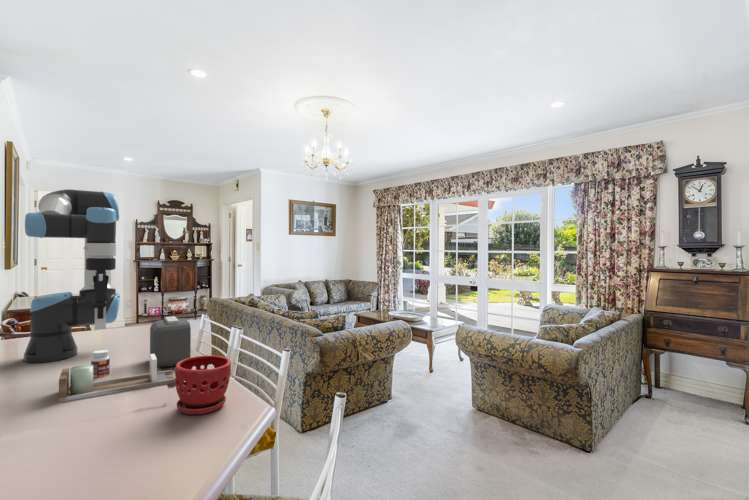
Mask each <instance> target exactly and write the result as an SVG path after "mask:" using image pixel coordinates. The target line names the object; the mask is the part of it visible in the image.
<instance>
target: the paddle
mask: <svg viewBox="0 0 749 500" xmlns="http://www.w3.org/2000/svg"><path fill="white" fill-rule="evenodd" d="M157 372H158V366H157V358H156V356H155V354H150V353H149V373H150V379H151V382H154V381H160V380H166V379H167V377H166V375H165V373H161V374H157Z"/></svg>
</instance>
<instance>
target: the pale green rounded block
mask: <svg viewBox="0 0 749 500" xmlns="http://www.w3.org/2000/svg"><path fill="white" fill-rule="evenodd" d="M93 382H94V378H93V365H91V364H80V365H75V366H73V367H70V368H69V386H70V395H77V394H83V393H89V392H93Z"/></svg>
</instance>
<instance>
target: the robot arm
mask: <svg viewBox="0 0 749 500" xmlns="http://www.w3.org/2000/svg"><path fill="white" fill-rule="evenodd" d="M37 207H38V210H39V211H37V212H28V213H26V214H25V218H24V232H25V235H26V236H27V237H30V238H40V239H42V238H43V239H44V238H53V239H55V238H60V239H61V238H63V239H64V238H65V239H66V238H67V239H84V246H83V249H84V270H83V271H84V277H83V279H84V281H83V283H84V285H83V287H82V288H81V289H80V290H79V293H78V294H79V295H73V293H72V291H67V292H66V291H65V292H57V293H56V292H55V293H51V294H45V295H40V296H37V297H34V298H33V299H32V300H31V301H30V309H29V312H30V338H29V341H28V343H27V346H26V348H25V351H24V353H23V362H25V363H31V364H32V363H34V364H37V363H48V362H55V361H61V360H66V359H69V358H72V357H75V356H77V355H78V345H77V343H76V341H75V339H74V336H73V334H72V333H73V331H72V329H73V327H84V326H94V330H95V331H99V330H106V329H107V324H112V323H114V322H116V320H117V317H118V314H119V309H120V308H119V307H120V303H121V302H120V301H121V299H120V298H121V293H118V292H116V291H117V289H116V288H115V287H114V286H112V271H114V270H115V269H116V258H115V257H116V255H117V242H116V235H117V234H116V233H117V221H119V220H120V212H119V211H120V209H119V203H118V199H117V196H116V195H115V194H114V193H111V192H106V191H96V190H95V191H93V190H83V189H82V190H81V189H60V190H55V191H54V190H53V191H51V192H49V193H47V194H44V195H43V196H42V197H41V198H40V200H39V202H38V206H37Z"/></svg>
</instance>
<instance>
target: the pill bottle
mask: <svg viewBox="0 0 749 500" xmlns="http://www.w3.org/2000/svg"><path fill="white" fill-rule="evenodd" d="M110 361H111V360H110V356H109V350H107V349H100V350H95V351H92V358H91V360H90V365H93V379H94V378H96V379H97V378H103V377H106V376H109V375H110V367H111V365H110V363H111V362H110Z"/></svg>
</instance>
